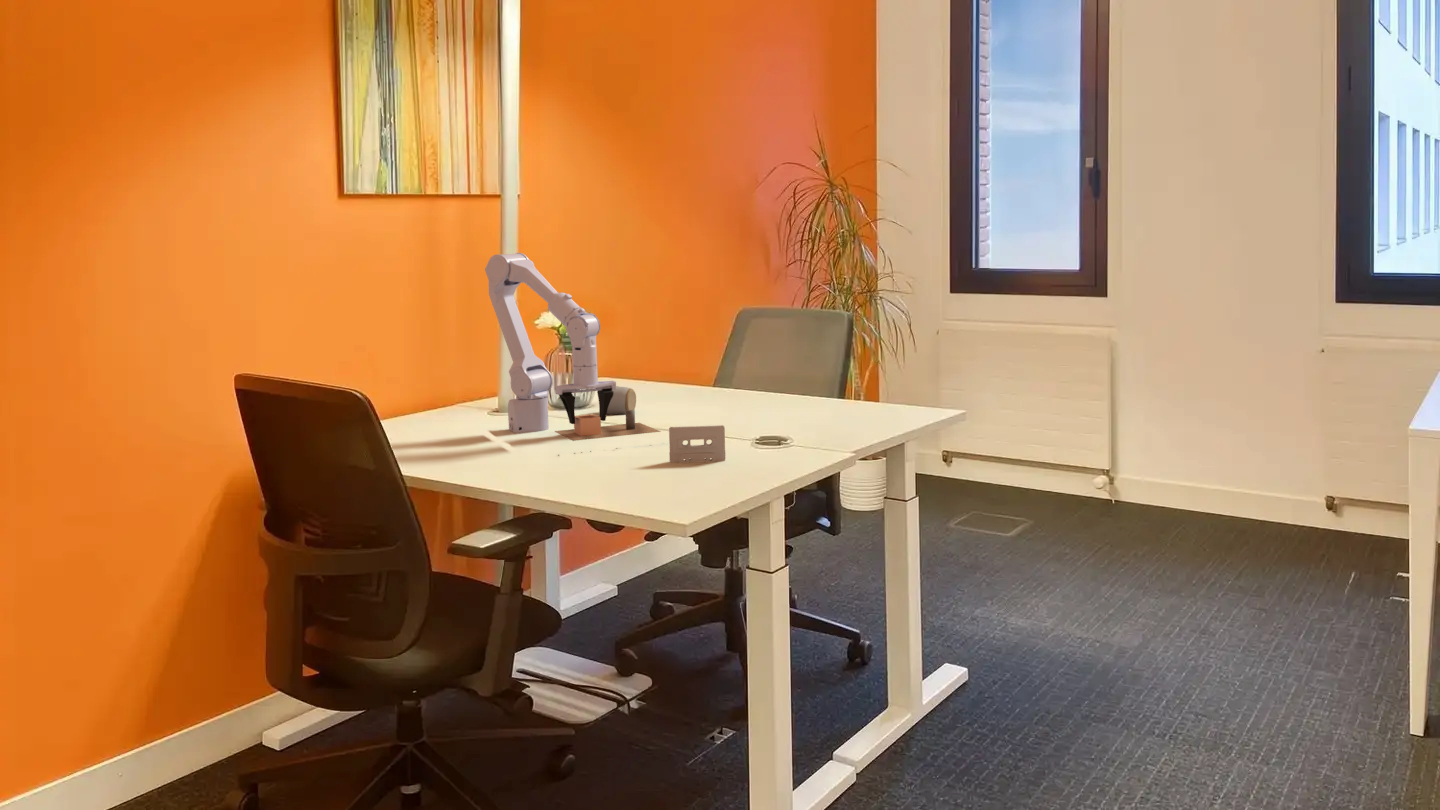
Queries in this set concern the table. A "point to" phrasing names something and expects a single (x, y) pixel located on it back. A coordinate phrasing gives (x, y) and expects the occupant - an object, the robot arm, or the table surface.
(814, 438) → the table surface
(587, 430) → the collar
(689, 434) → the cassette
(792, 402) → the table surface
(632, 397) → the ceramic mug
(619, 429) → the plate
